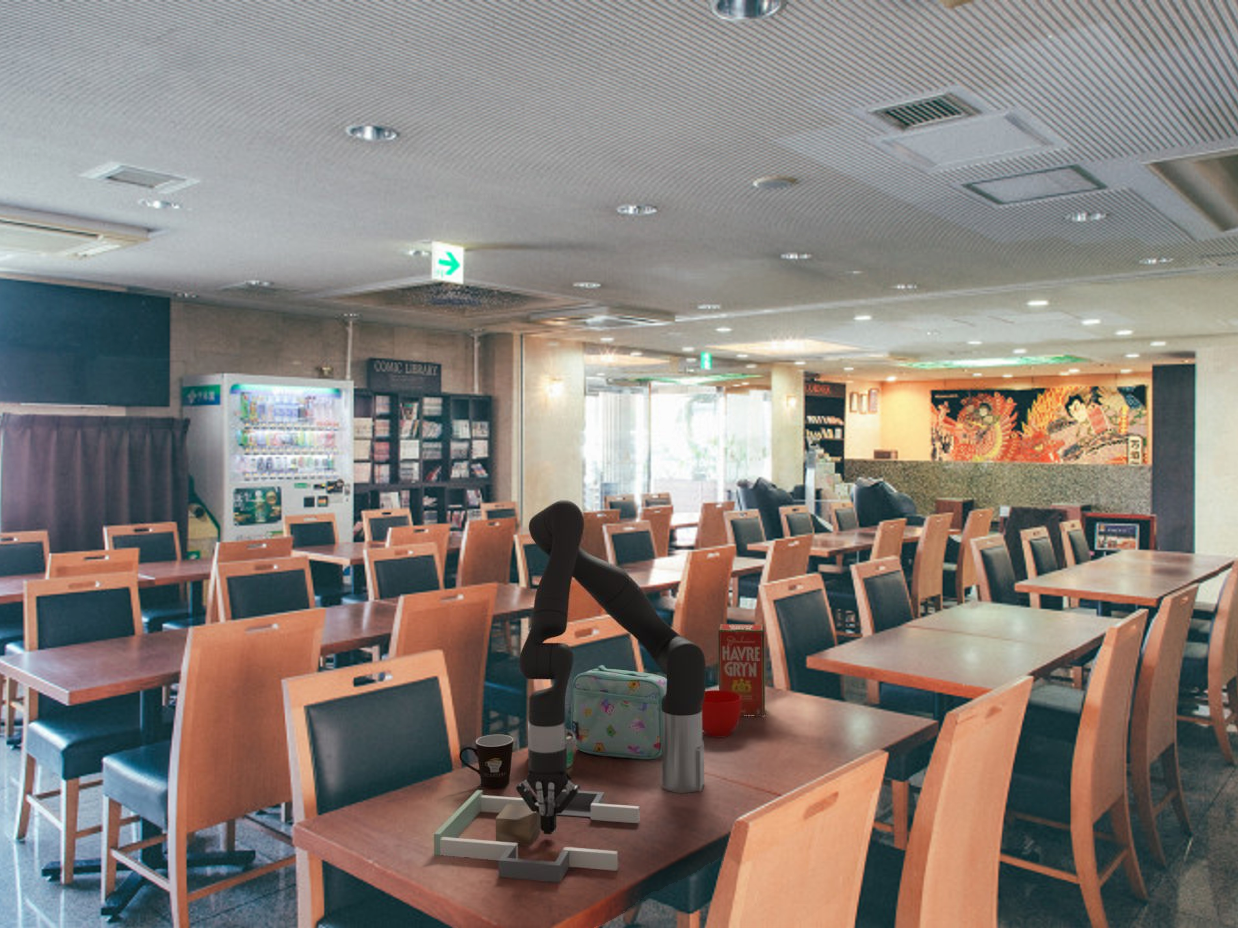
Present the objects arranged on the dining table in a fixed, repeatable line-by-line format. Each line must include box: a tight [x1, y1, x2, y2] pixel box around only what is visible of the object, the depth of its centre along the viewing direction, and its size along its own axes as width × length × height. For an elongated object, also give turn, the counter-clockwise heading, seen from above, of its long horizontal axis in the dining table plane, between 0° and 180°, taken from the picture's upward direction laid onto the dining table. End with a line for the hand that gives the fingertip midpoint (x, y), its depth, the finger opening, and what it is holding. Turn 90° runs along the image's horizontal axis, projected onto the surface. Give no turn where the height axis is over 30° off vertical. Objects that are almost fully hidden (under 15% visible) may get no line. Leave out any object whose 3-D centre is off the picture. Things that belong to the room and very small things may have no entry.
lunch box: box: [567, 664, 667, 760], centre depth 225 cm, size 27×10×21 cm, turn 68°
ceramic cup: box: [702, 689, 741, 738], centre depth 241 cm, size 13×17×10 cm
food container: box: [566, 728, 577, 781], centre depth 208 cm, size 12×6×10 cm, turn 168°
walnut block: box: [495, 804, 542, 846], centre depth 176 cm, size 7×7×5 cm
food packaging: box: [717, 623, 766, 717], centre depth 260 cm, size 13×9×25 cm
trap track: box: [433, 788, 640, 883], centre depth 175 cm, size 35×35×4 cm
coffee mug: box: [458, 734, 514, 790], centre depth 205 cm, size 12×9×10 cm
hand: (548, 832), depth 175 cm, fingers closed
